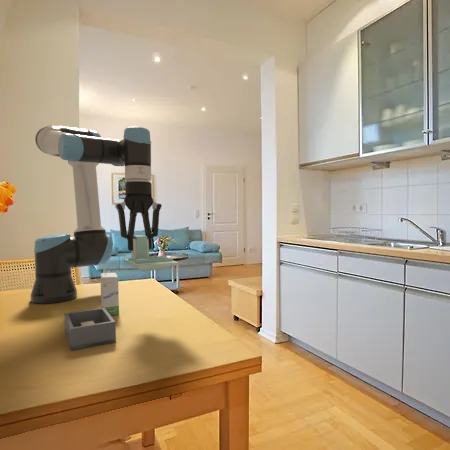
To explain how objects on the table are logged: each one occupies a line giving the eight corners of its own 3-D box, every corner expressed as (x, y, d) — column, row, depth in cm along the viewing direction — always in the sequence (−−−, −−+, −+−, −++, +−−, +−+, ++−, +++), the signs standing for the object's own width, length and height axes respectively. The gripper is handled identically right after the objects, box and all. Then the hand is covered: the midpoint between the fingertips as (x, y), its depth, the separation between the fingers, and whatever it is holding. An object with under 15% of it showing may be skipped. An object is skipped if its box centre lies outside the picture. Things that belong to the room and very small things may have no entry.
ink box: (119, 314, 106) (118, 276, 106) (102, 316, 104) (101, 277, 104) (116, 307, 114) (116, 271, 114) (100, 309, 112) (100, 273, 112)
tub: (70, 350, 79) (70, 328, 79) (65, 332, 91) (64, 313, 91) (115, 342, 84) (115, 321, 84) (104, 325, 96) (104, 307, 96)
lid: (139, 273, 85) (138, 240, 85) (120, 263, 103) (119, 236, 102) (178, 269, 91) (178, 238, 90) (154, 260, 108) (154, 234, 107)
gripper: (113, 179, 95) (115, 265, 96) (168, 181, 103) (170, 260, 104) (107, 181, 101) (109, 261, 102) (160, 183, 109) (162, 257, 110)
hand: (140, 260), depth 103 cm, fingers closed on lid, 3 cm apart
